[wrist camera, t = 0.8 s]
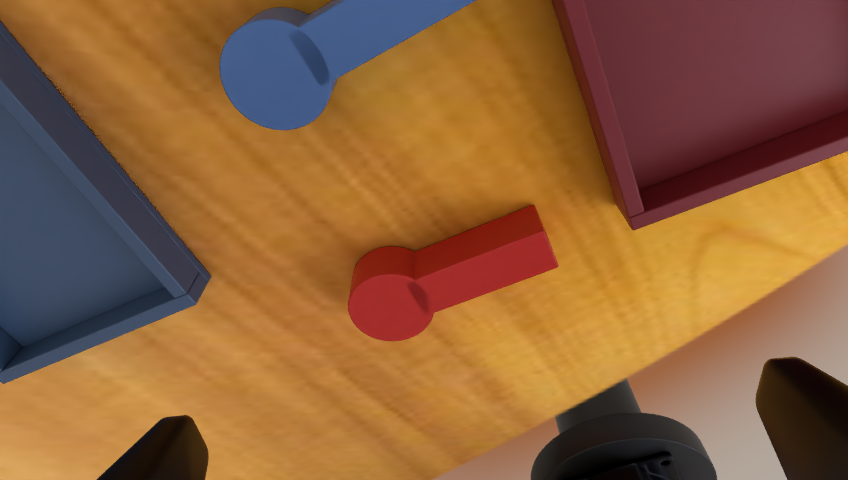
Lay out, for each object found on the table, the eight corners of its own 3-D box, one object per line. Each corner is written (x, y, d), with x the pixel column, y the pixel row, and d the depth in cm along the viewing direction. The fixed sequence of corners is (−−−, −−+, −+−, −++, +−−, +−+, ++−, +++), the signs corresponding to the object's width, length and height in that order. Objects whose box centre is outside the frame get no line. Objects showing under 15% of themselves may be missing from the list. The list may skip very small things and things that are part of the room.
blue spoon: (440, -100, 16) (443, -99, 15) (488, 9, 18) (496, 22, 16) (215, 39, 18) (195, 54, 17) (276, 126, 20) (264, 148, 18)
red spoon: (527, 187, 21) (536, 212, 20) (554, 254, 23) (565, 283, 21) (338, 263, 23) (331, 293, 21) (376, 320, 25) (372, 352, 23)
